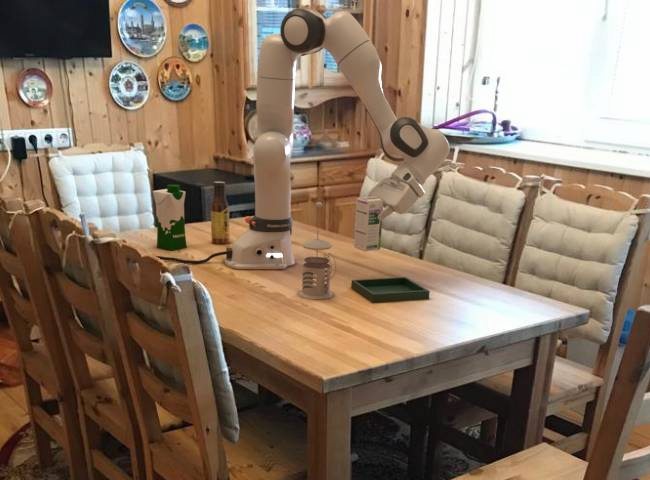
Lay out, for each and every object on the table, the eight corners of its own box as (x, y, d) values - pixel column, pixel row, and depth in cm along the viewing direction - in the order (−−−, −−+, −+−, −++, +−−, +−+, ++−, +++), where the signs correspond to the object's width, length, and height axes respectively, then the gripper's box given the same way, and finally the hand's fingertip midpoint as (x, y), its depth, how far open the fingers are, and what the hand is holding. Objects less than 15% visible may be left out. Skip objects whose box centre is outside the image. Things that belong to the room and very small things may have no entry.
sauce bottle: (228, 245, 281) (227, 184, 272) (210, 244, 281) (208, 183, 271) (230, 241, 287) (229, 181, 277) (213, 240, 287) (211, 180, 277)
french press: (316, 287, 238) (319, 197, 225) (344, 296, 231) (349, 204, 218) (291, 293, 232) (293, 201, 219) (319, 302, 224) (323, 207, 212)
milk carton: (171, 251, 270) (168, 187, 260) (152, 247, 274) (148, 183, 264) (190, 247, 276) (188, 184, 266) (171, 243, 280) (168, 181, 270)
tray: (372, 303, 226) (373, 294, 225) (351, 288, 239) (351, 280, 238) (428, 299, 232) (429, 290, 231) (405, 284, 245) (405, 276, 244)
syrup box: (365, 252, 240) (369, 200, 233) (353, 247, 244) (356, 196, 237) (380, 250, 243) (384, 199, 236) (368, 245, 247) (371, 195, 240)
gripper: (384, 167, 244) (352, 202, 246) (415, 178, 228) (380, 215, 229) (396, 183, 248) (365, 217, 250) (427, 194, 232) (393, 231, 233)
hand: (372, 216), depth 239 cm, fingers closed on syrup box, 6 cm apart
